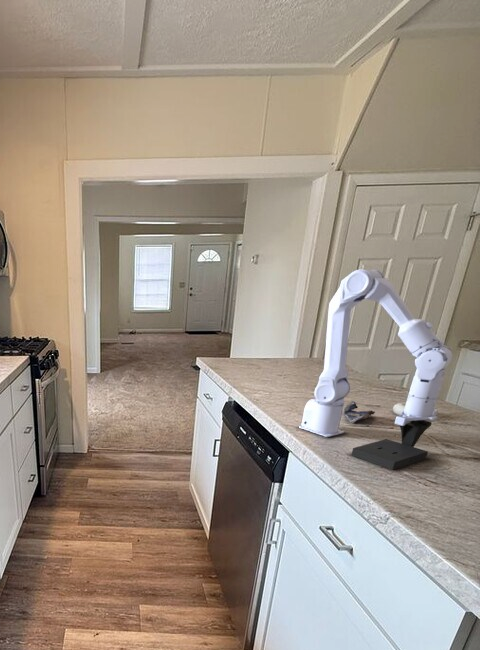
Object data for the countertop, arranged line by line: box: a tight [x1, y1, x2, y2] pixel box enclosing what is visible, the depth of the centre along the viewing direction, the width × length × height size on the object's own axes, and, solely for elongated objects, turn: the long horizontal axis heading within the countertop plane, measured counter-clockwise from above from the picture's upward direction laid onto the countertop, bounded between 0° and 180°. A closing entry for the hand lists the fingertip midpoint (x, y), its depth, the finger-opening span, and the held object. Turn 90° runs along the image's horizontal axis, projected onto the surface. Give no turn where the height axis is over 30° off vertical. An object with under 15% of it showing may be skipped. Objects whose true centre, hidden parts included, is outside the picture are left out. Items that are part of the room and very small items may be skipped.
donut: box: [392, 401, 407, 416], centre depth 132 cm, size 10×4×10 cm
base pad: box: [351, 443, 411, 471], centre depth 100 cm, size 10×7×2 cm
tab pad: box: [369, 438, 429, 465], centre depth 102 cm, size 10×9×2 cm
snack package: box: [343, 401, 376, 424], centre depth 129 cm, size 12×6×12 cm
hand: (407, 447), depth 104 cm, fingers closed
